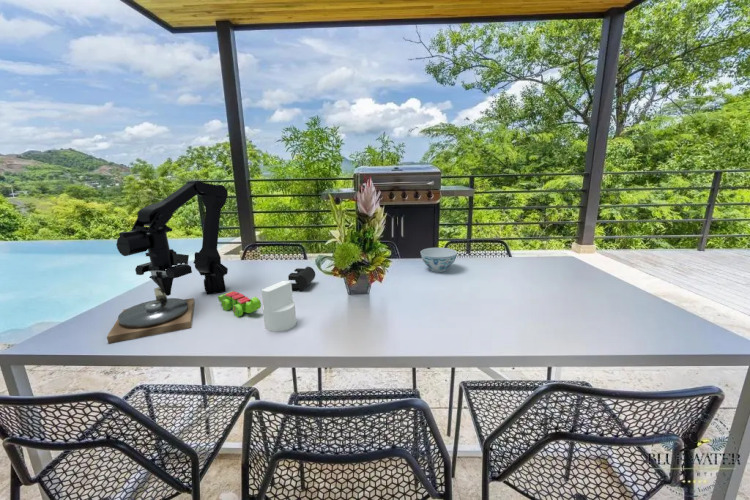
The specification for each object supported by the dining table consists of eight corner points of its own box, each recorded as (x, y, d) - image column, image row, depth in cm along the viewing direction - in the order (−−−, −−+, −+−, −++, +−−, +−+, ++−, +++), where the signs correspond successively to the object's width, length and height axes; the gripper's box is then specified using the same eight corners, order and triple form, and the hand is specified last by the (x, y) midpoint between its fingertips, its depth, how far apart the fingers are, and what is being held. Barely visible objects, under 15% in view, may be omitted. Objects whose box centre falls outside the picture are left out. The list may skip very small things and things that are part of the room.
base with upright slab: (280, 334, 97) (275, 293, 94) (258, 327, 101) (253, 288, 98) (302, 321, 104) (299, 283, 101) (281, 315, 109) (277, 278, 106)
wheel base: (194, 303, 120) (193, 297, 119) (191, 327, 102) (190, 320, 102) (124, 315, 112) (123, 308, 112) (108, 343, 95) (106, 336, 94)
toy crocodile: (215, 306, 118) (212, 289, 116) (233, 299, 123) (231, 283, 121) (246, 322, 105) (243, 303, 104) (265, 314, 110) (263, 296, 109)
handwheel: (132, 306, 113) (129, 290, 112) (193, 298, 118) (191, 283, 117) (108, 332, 96) (103, 313, 95) (180, 322, 101) (177, 304, 99)
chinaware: (460, 274, 141) (460, 256, 139) (422, 275, 141) (422, 257, 139) (452, 264, 155) (453, 247, 153) (418, 264, 156) (418, 248, 154)
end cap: (307, 292, 127) (306, 274, 126) (289, 291, 128) (287, 274, 127) (316, 282, 137) (315, 266, 135) (298, 282, 138) (297, 266, 136)
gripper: (201, 243, 113) (210, 289, 116) (162, 241, 120) (171, 285, 124) (170, 251, 103) (180, 301, 106) (129, 249, 110) (140, 296, 114)
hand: (168, 295), depth 113 cm, fingers closed
